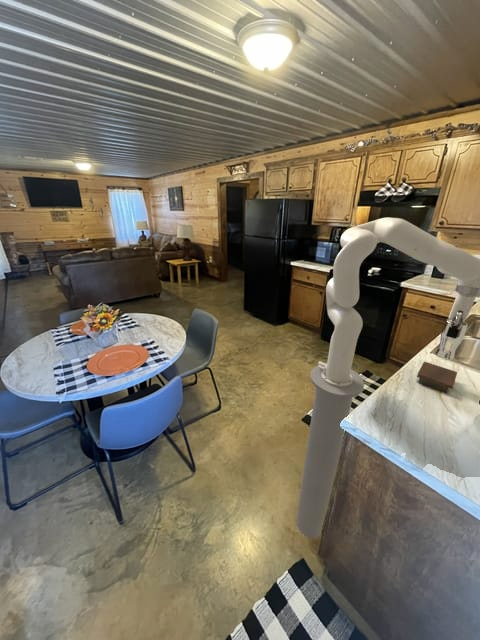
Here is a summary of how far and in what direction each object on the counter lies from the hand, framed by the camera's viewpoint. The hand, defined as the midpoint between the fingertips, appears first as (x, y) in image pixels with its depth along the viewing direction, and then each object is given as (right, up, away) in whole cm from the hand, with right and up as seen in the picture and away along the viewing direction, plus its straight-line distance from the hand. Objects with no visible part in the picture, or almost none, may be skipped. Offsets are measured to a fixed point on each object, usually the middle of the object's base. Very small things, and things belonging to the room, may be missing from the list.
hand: (452, 333), depth 102 cm
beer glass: (0, -9, +4) cm, 10 cm away
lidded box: (0, -21, +10) cm, 23 cm away
